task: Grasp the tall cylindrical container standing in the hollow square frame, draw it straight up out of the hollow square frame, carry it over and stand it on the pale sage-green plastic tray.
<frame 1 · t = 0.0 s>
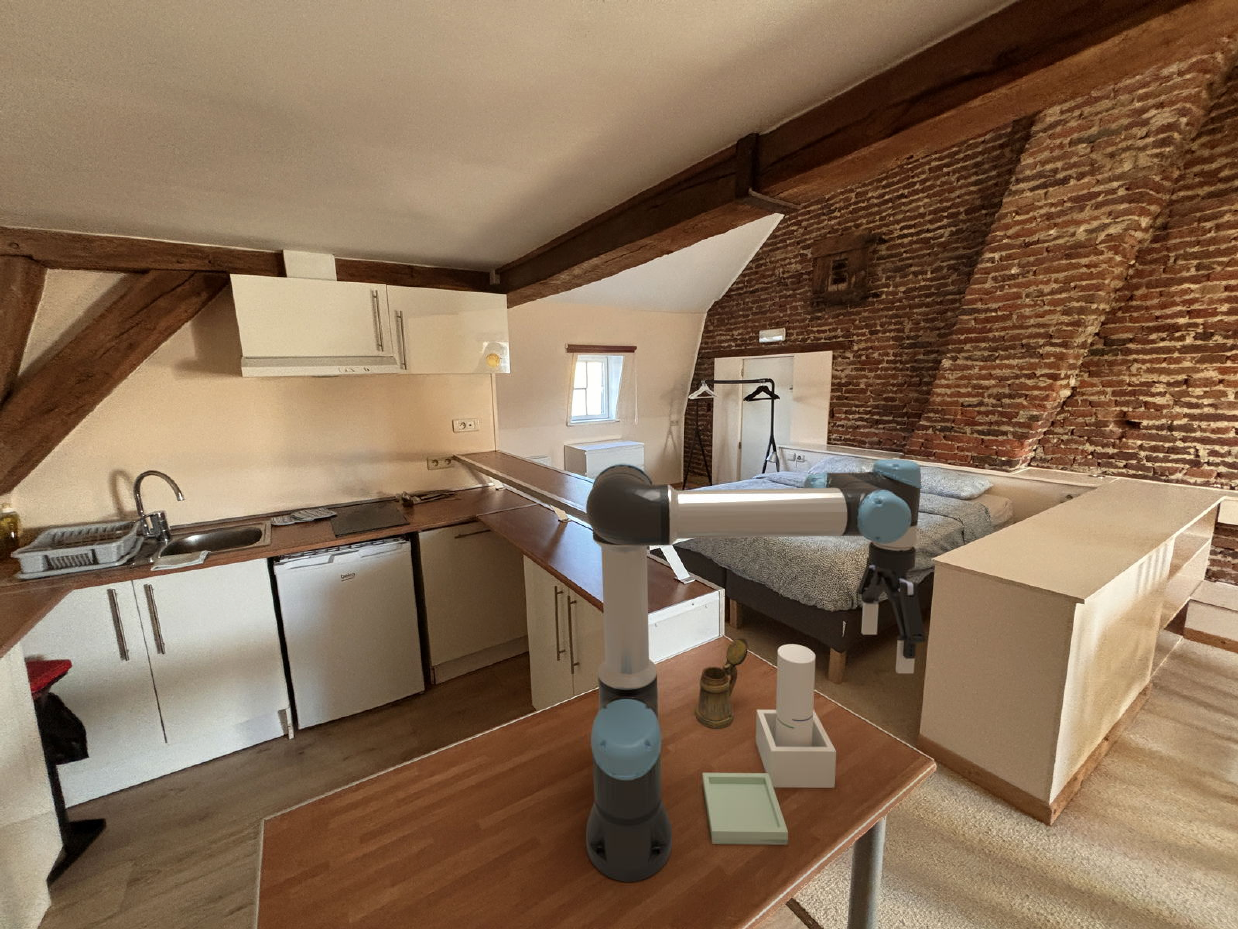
hand: (885, 651, 93), 28 cm above the table, fingers open, 13 cm apart
hollow square frame: (792, 763, 103), on the table
wooden mug: (722, 714, 119), on the table
cylindrical container: (792, 764, 103), resting in hollow square frame
tray: (742, 812, 92), on the table
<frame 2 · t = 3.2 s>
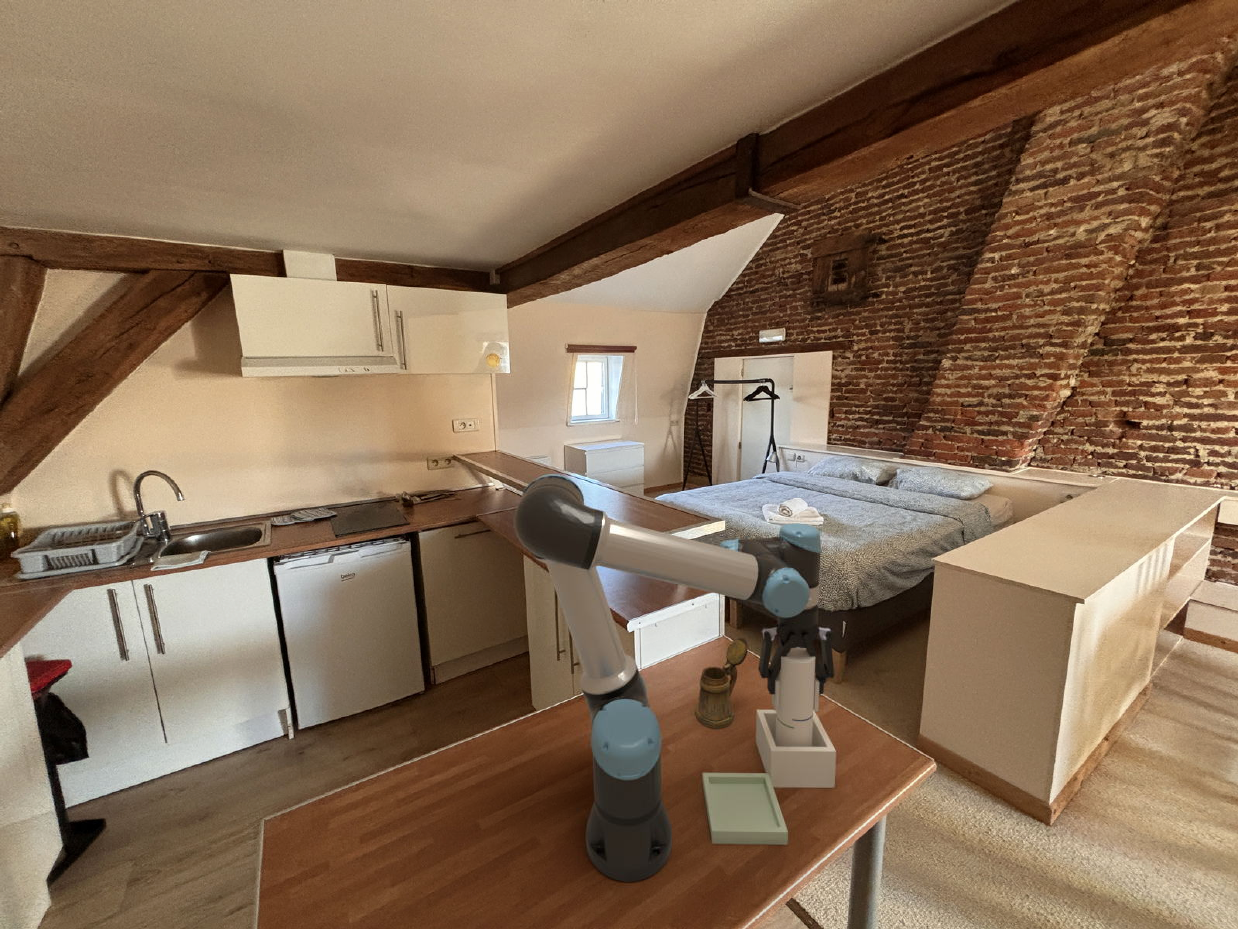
hand: (794, 707, 101), 13 cm above the table, fingers closed on cylindrical container, 7 cm apart
cylindrical container: (792, 764, 103), resting in hollow square frame, touching gripper
everything else where it was.
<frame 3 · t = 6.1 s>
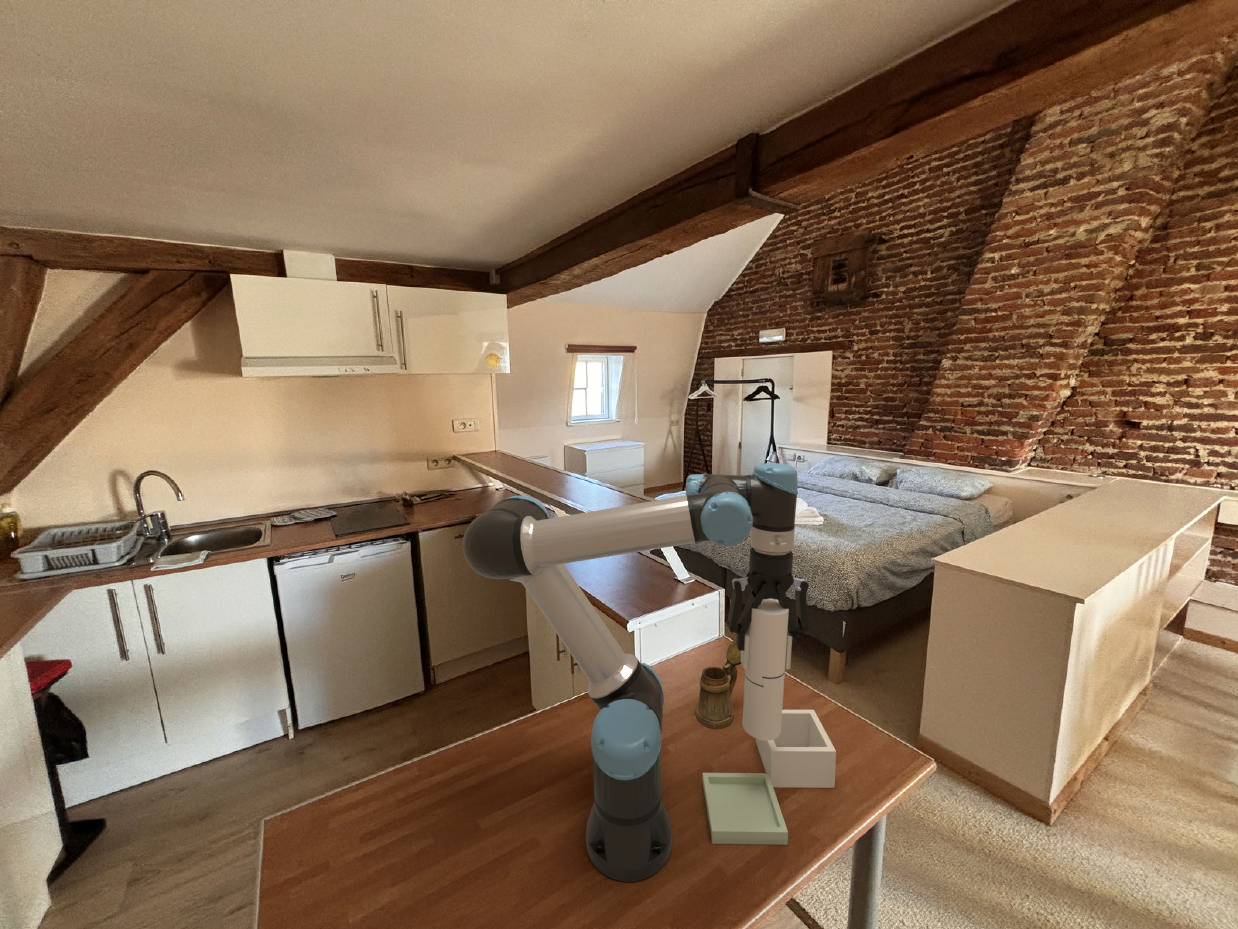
hand: (764, 665, 93), 26 cm above the table, fingers closed on cylindrical container, 7 cm apart
cylindrical container: (761, 728, 95), point 13 cm above the table, touching gripper
everything else where it was.
when the fingers open (16 cm above the table, at t = 9.2 s): cylindrical container drops 1 cm, resting on tray.
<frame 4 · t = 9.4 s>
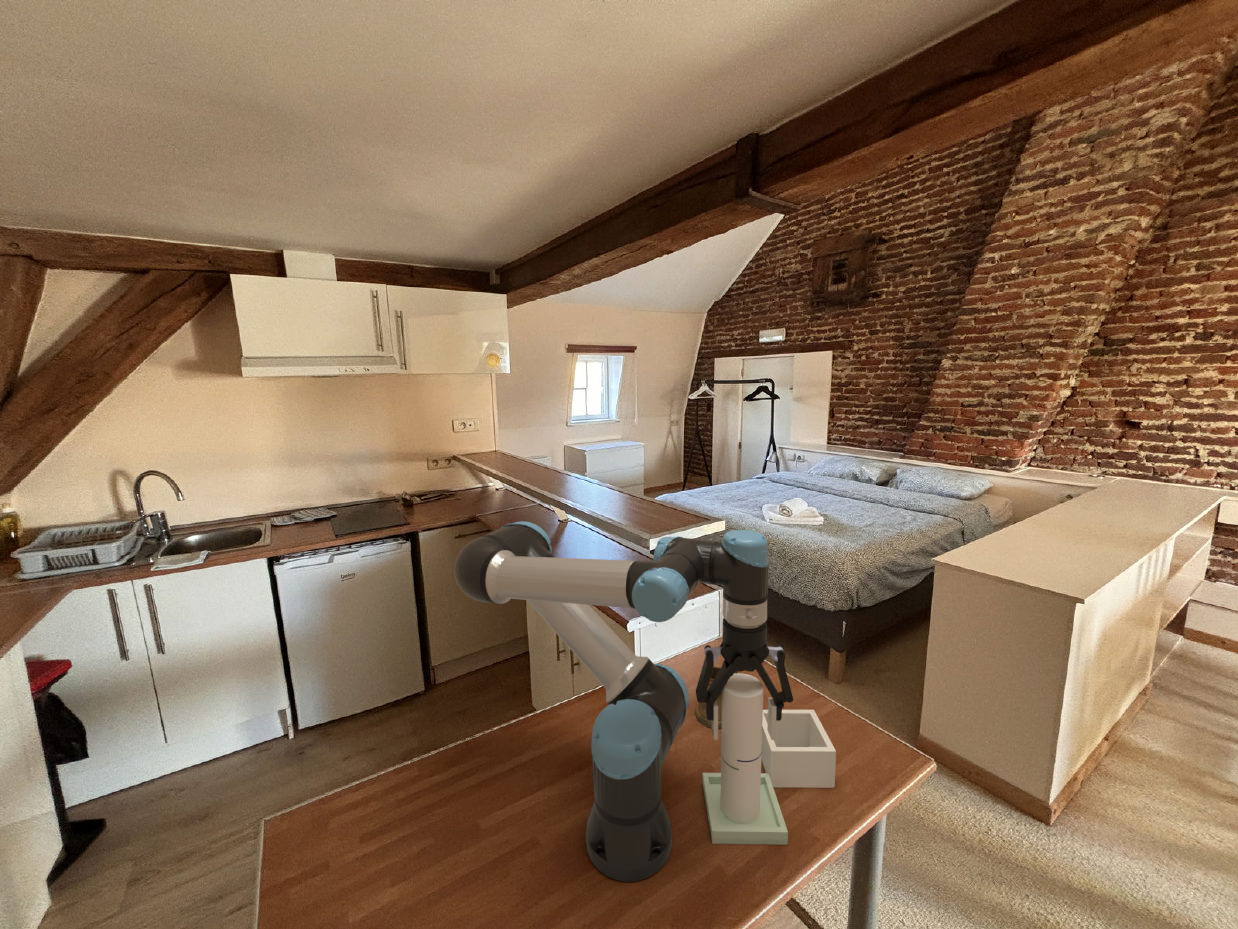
hand: (743, 734, 89), 16 cm above the table, fingers open, 9 cm apart
cylindrical container: (740, 808, 92), point 1 cm above the table, touching tray
everything else where it was.
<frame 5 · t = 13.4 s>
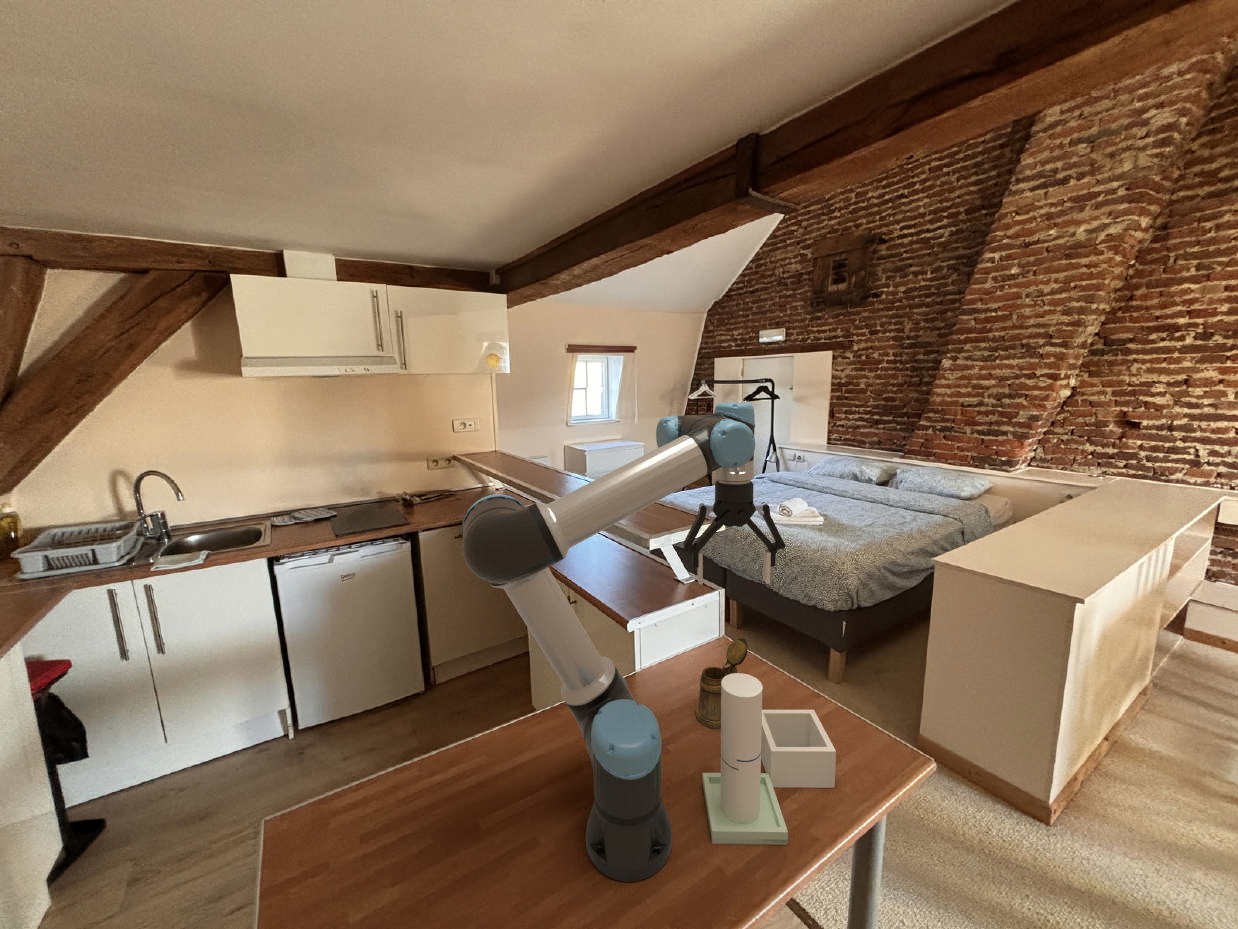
hand: (733, 581, 101), 39 cm above the table, fingers open, 13 cm apart
nothing on the table moved.
at the end: cylindrical container inside the target area on the tray (0.4 cm from its centre), point 0.8 cm above the tray's base; cylindrical container tilted 0°; the gripper is holding nothing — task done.
